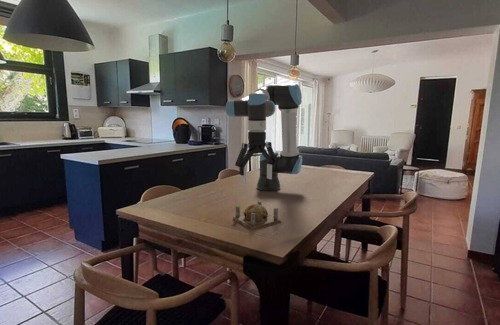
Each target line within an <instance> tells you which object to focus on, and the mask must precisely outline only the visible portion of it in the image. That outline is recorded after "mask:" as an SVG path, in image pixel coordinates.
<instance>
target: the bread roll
mask: <svg viewBox="0 0 500 325" xmlns="http://www.w3.org/2000/svg"><path fill="white" fill-rule="evenodd" d="M251 213H255V222H260V221H264V220H265V219H266V218H267V216H268V210H267V208H266V207H264V206H263V205H259V204H258V203H254V204H251V205H249V206H247V207H246V208H245V209H244V211H243V214H244V216H245V218H246V219H247V220H249V221H251ZM243 214H242V215H243Z"/></svg>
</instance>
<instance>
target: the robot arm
mask: <svg viewBox="0 0 500 325" xmlns="http://www.w3.org/2000/svg"><path fill="white" fill-rule="evenodd" d="M302 96H303V95H302V90H301V87H300V85H299V84H298V83H290V82H289V83H278V84H277V83H276V84H275V83H274V84H268V85H266V86H262V87H260V88H257V89H256V90H255V91H254V92H253V93H249V94H248V95H247V96H244V97H242V98H240V99H235V100H234V99H231V100H228V101H227V102H226V104H225V113H226V115H227V116H228V117H233V118H236V117H239V118H241V117H243V118H246V117H247V130H248V132H247V141H248V143H245V142H243V143H241V149H240V151H239V154H238V156H237V159H236V161H235V163H234V165H235V167H237V168H239V171H238V172H239V175H240V182H241V183H243V184H247V167H246V165H247V164H248V162H249V160H250V159H251V158H252V156H254V154H255V155H256V154H260V155H259V178H258V181H257V184H256V189H257V190H260V191H263V192H264V191H265V192H274V191H279V190H280V189H281V184H280V179H279V176H278V174H284V175H285V174H287V175H298V174H300V172H301V169H302V166H303V165H302V164H303V155H300V151H299V150H298V148H297V147H298V146H297V141H298V140H297V138H298V137H297V110H298V109H299V108H300V107H299V106H300V105H301V104H302V98H303V97H302ZM276 106H277V107H278V108H277V109H278V110H279V111H280V119H281V120H280V121H281V123H280V124H281V143H282V144H281V145H282V146H281V147H282V150H281V151H280V153H279V152H278V151H274V150H273V147H272V142H271V141H266V139H267V132H266V130H267V118H269V117H272V116H273V115H274V114H275V112H276V110H277V109H276Z"/></svg>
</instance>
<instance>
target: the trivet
mask: <svg viewBox="0 0 500 325" xmlns="http://www.w3.org/2000/svg"><path fill="white" fill-rule="evenodd" d="M262 202H263V201H260V200H258V201H257V204H259V205H262ZM262 206H263V205H262ZM240 211H241V206H240V205H235V215H234V216H233V217H232V219H233V220H234V221H235V222H237V223H239V224H241V225H242V226H244V227H246V228H248V229H249V230H251V231H255V230H259V229H261V228H267V227H269V226H273V225H276V224H280V223H281V219H279V208H278V207H274V208H273V215H270V214H268V216H267V218H266V219H265V220H264V221H260V222H255V213H251V221H249V220H247V219H246V218H245V216H244V214H240V213H241V212H240Z"/></svg>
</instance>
